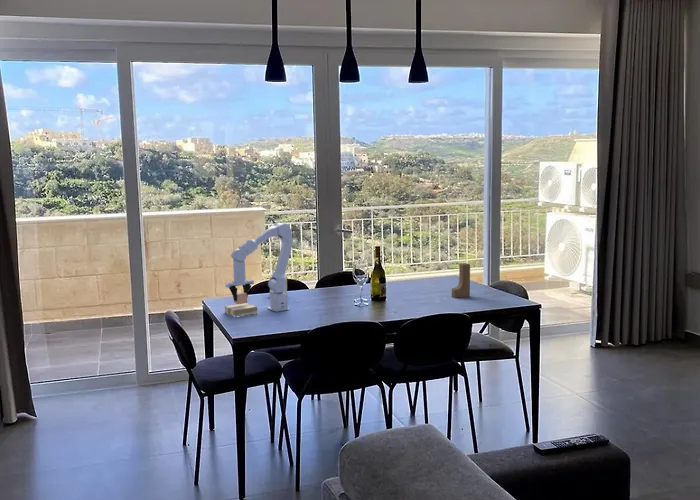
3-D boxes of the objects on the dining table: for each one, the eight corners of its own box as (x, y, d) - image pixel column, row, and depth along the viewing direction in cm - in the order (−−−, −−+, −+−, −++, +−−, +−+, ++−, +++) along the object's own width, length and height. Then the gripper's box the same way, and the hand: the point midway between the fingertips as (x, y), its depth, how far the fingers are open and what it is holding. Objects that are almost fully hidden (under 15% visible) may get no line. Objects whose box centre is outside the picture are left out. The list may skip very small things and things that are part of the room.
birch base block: (257, 314, 336) (257, 306, 335) (235, 318, 329) (234, 310, 328) (246, 310, 345) (246, 302, 345) (225, 313, 339) (224, 305, 338)
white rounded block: (269, 295, 377) (269, 277, 375) (275, 293, 381) (274, 275, 380) (281, 297, 373) (281, 278, 371) (287, 295, 378) (286, 276, 376)
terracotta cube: (247, 302, 336) (246, 293, 335) (238, 304, 333) (237, 294, 332) (243, 301, 340) (242, 291, 339) (233, 302, 337) (233, 292, 336)
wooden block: (455, 298, 364) (455, 265, 361) (451, 296, 368) (451, 264, 365) (470, 296, 367) (470, 264, 364) (466, 295, 371) (466, 262, 368)
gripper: (249, 270, 341) (250, 296, 343) (222, 273, 333) (223, 300, 335) (255, 272, 336) (256, 298, 338) (228, 275, 328) (229, 303, 330)
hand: (240, 299), depth 336 cm, fingers closed on terracotta cube, 5 cm apart
